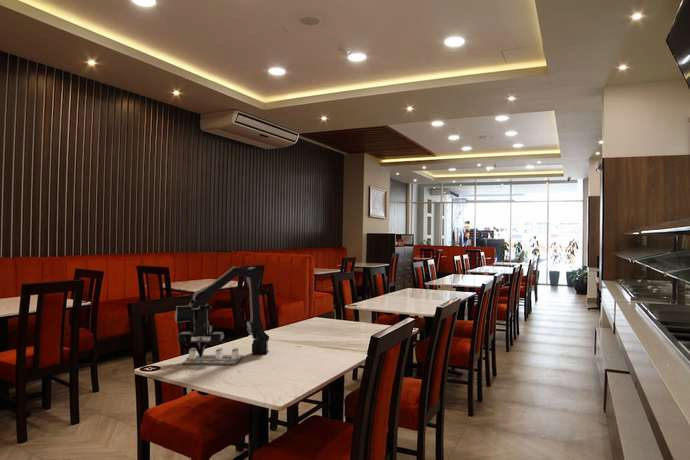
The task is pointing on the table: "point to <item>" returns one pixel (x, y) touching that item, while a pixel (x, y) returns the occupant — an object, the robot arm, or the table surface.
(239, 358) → the panel
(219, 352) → the breaker
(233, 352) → the breaker
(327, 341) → the table surface
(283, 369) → the table surface
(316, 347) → the table surface
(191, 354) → the breaker
